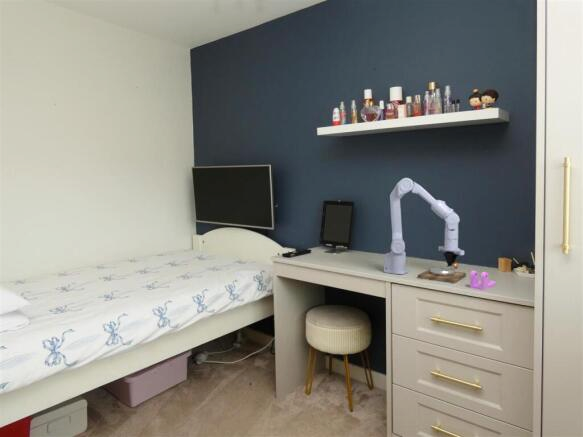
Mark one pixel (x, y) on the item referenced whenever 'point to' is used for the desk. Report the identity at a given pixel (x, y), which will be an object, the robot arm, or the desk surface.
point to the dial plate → (442, 277)
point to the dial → (444, 270)
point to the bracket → (481, 284)
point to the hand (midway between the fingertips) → (450, 268)
